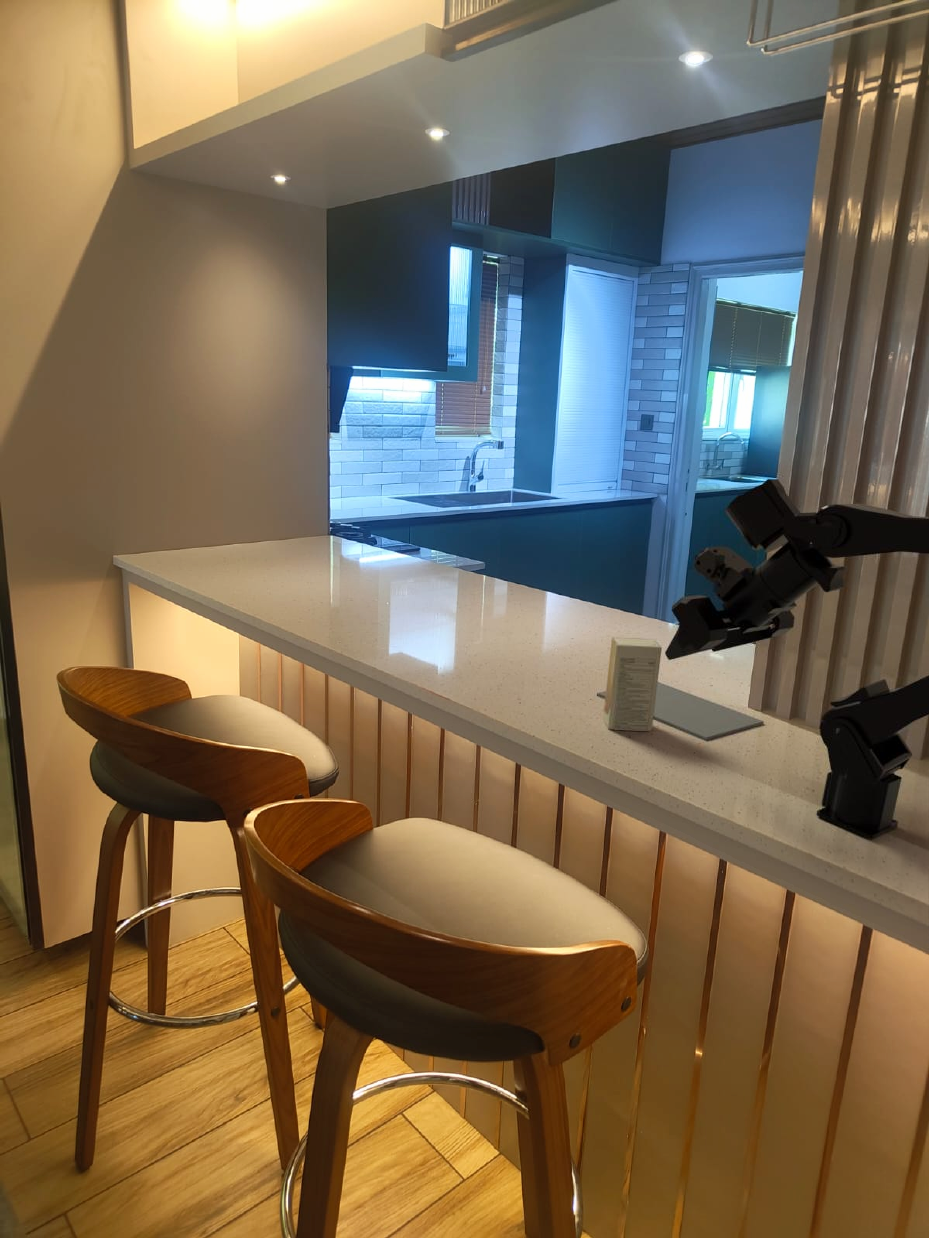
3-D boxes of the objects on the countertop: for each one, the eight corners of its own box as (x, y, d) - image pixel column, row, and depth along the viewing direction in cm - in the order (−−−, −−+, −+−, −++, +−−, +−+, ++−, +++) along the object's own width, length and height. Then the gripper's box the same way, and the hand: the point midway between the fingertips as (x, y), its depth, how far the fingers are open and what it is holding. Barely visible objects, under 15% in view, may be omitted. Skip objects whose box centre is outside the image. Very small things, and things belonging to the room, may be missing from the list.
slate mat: (763, 723, 127) (763, 721, 127) (705, 740, 118) (705, 737, 118) (655, 683, 142) (655, 681, 142) (596, 695, 133) (597, 692, 133)
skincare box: (644, 721, 124) (656, 638, 121) (652, 732, 119) (664, 647, 117) (600, 718, 123) (611, 635, 120) (605, 729, 119) (617, 643, 116)
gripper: (785, 525, 110) (702, 595, 121) (694, 529, 99) (611, 606, 109) (834, 598, 106) (744, 664, 117) (746, 610, 94) (655, 682, 105)
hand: (690, 652), depth 112 cm, fingers open, 9 cm apart
